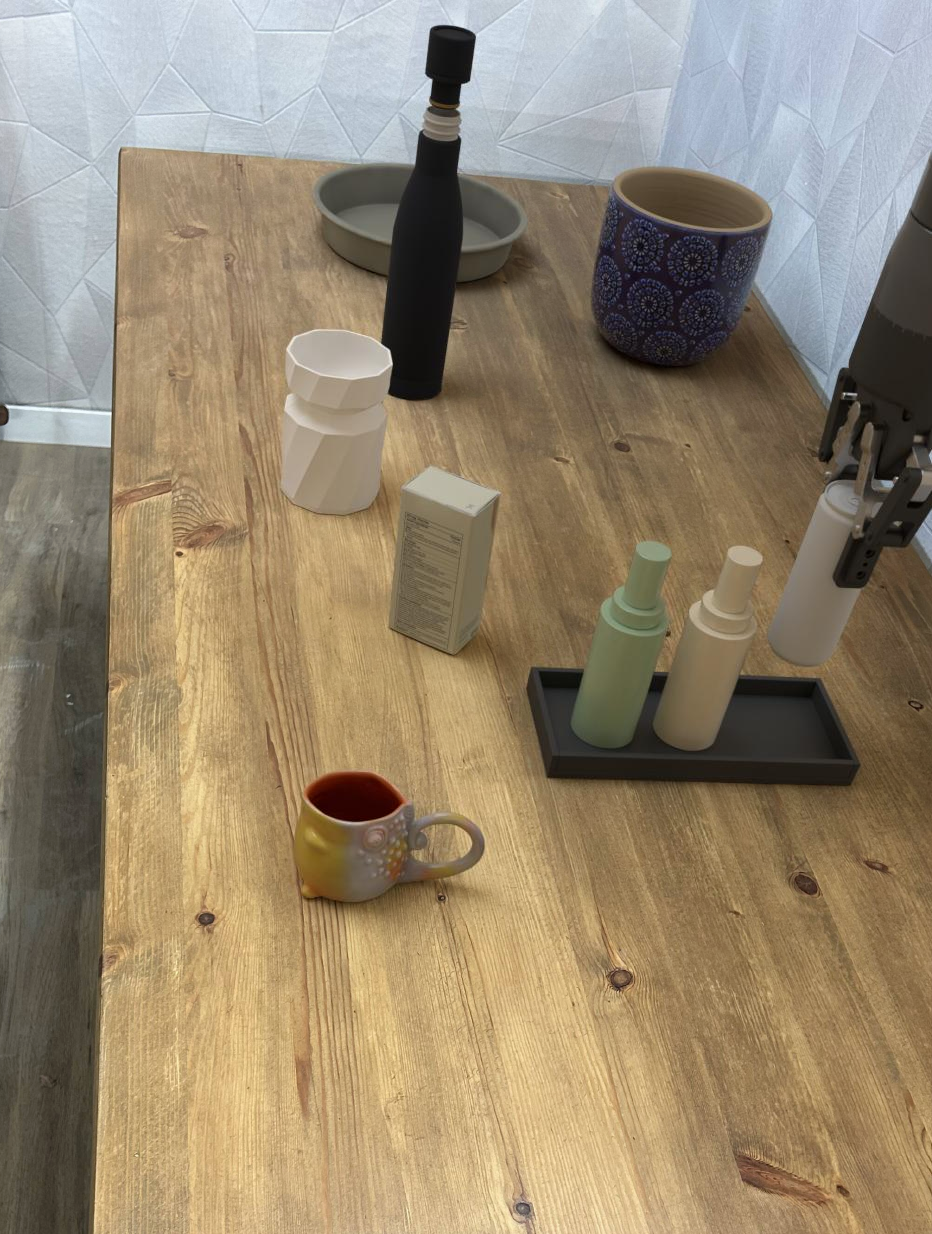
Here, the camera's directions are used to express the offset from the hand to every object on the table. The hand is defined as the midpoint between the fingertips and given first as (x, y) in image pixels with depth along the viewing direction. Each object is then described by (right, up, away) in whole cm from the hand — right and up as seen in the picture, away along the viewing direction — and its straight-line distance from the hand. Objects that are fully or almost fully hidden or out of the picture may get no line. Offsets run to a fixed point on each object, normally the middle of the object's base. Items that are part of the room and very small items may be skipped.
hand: (835, 560), depth 90 cm
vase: (-36, +14, +28) cm, 47 cm away
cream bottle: (-8, -10, +10) cm, 16 cm away
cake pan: (-28, +54, +65) cm, 89 cm away
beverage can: (-1, -5, +6) cm, 8 cm away
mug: (-30, -21, -3) cm, 37 cm away
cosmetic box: (-27, -1, +16) cm, 31 cm away
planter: (-2, +38, +55) cm, 67 cm away
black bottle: (-29, +29, +42) cm, 59 cm away
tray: (-8, -10, +11) cm, 17 cm away
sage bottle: (-14, -10, +9) cm, 20 cm away
